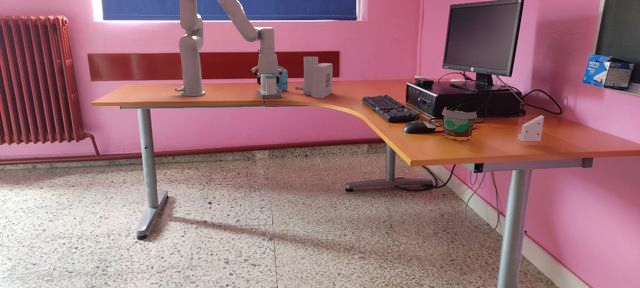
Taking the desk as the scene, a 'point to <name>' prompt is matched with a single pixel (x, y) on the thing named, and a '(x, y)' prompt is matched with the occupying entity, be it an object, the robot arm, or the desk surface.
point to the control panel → (317, 78)
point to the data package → (282, 80)
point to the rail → (264, 96)
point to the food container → (458, 123)
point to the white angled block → (532, 130)
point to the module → (264, 81)
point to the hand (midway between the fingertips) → (268, 84)
